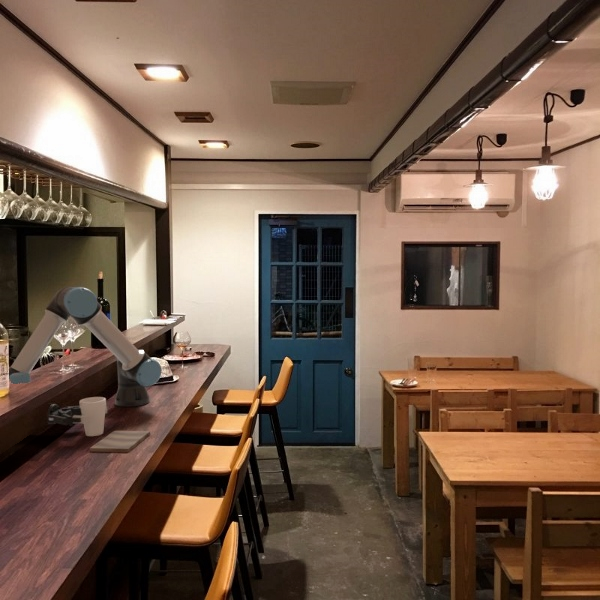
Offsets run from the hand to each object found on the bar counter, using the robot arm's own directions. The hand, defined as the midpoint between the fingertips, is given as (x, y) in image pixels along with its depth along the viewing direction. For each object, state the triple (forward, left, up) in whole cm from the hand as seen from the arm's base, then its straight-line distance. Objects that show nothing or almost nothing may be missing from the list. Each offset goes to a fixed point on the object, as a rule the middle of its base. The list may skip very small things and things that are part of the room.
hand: (98, 414), depth 230 cm
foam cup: (0, -2, -8) cm, 8 cm away
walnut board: (+10, +13, -7) cm, 18 cm away
